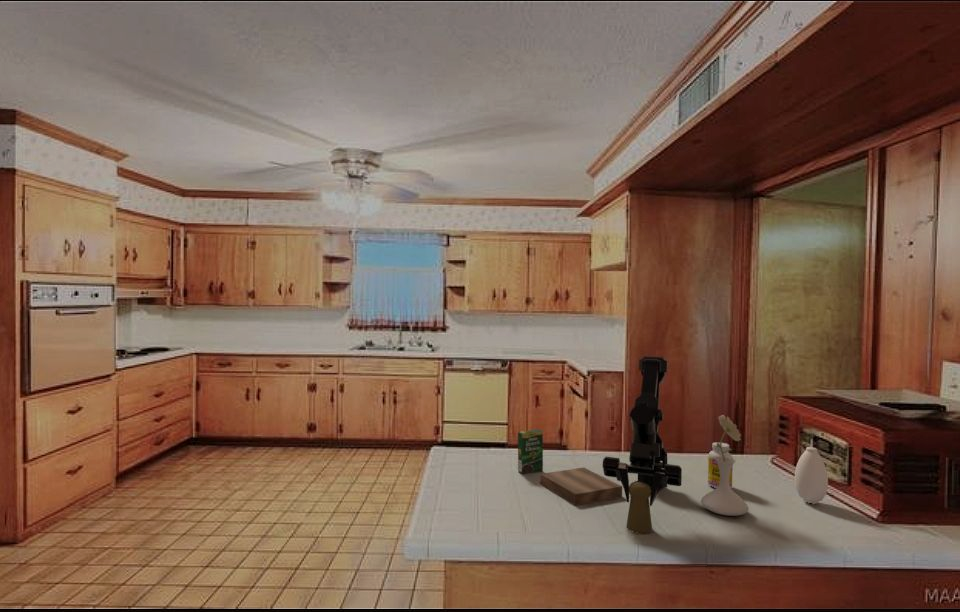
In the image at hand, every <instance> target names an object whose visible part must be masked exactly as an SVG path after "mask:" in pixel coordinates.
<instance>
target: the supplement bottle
mask: <svg viewBox="0 0 960 612" xmlns="http://www.w3.org/2000/svg"><path fill="white" fill-rule="evenodd" d="M717 442H718V441H716V442H712V450H710V452H709V453H708V462H707V463H708V464H707V485H708V486H709V485H710V486H712V487H714V488H713V489H715V488H717V487H718V486H719V484H720V470H719V466H718V463H717V461H716V460H715V457H723V456H722V452H721V449H720V448H719V447H717V446H716V445H717ZM718 443H719V444H720V442H718ZM721 445H722V451H723V452H725V451H728V450H730V449H731V448H730V445H729V443H726V442H725V443H724V442H722V444H721ZM723 454H724V457H728V458H732V459H734V458H733V455H732V454H731V453H730V451H728V452H726V453H723ZM733 465H734V464H733ZM733 465H732V467H731V470H730V477H729V484H730V487H731V489H732V488H733V471H734V470H733V467H734V466H733ZM710 486H709V487H710ZM712 487H711V488H712Z"/></svg>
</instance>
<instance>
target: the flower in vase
mask: <svg viewBox="0 0 960 612" xmlns="http://www.w3.org/2000/svg"><path fill="white" fill-rule="evenodd" d="M717 418H718V421H719V425H720V426H721V427H722V429H723V430H724V432H723V434H722V436H721V439H720V444H719V443H718V441H716V442H717V445H716V446H717V447H719V448H720V449H721V452H722V456H723V457H715V460H716V461H717V463H718V466H719V470H720V484H719V486H718V487H717V488H716V489H715V488H713V490H712V491H709V492H707V493H706V494H705V495H704V496H702V497H701V499H700V503H701V504H702V506H703V507H704V508H705V509H707V510H708V511H710V512H712V513H715V514H719V515H723V516H730V517H733V516H734V517H735V516H742V515H745V514H747V512H748V511H749V507H748V504H747V503H746V502H745V500H744V499H742V497H740V496H739V495H738V494H737V493H736V492H735V491H734V490H733V489H732V488H731V487H730V484H729V477H730V470H731V467H732V465H734V464H735V463H736V460H735V459H734V458H733V459H732V458H728V457H724V454H723V453H726V452H728V451H729V452H731V451H732V450H733V448H730V449H729V450H728V451H725V452H723V451H722V445H721V444H722V443H723V439H724V437H725V434H727V436H729V437H730V438H731V439H732V440H733V441H736V442H740V441H742V439H741V437H742V434H741V432H740V431H739V429H738V428H737V427H738V426H737V424H735V423H734V422H733V421H732V420H731V418H730V417H729V416H725V415H724V414H722V415H719V416H718V417H717Z"/></svg>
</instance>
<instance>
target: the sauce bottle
mask: <svg viewBox="0 0 960 612" xmlns="http://www.w3.org/2000/svg"><path fill="white" fill-rule="evenodd" d="M813 443H814V441H813V438H811V439H810V446H807V447H806V448H805V451H804V452H803V453H802V454H801V455H800V457H799V460H798V461H797V464H796V466H795V470H794V472H795V473H794V485H795V489H796V491H797V494H798V495H799V496H798V497H800V498H801V499H803V501H804V502H806V503H807V502H808V503H807V504H809V503H814V504H813V505H816V504H819V502H822V501H823V500H824V498H825V496H826V495H827V492H828V488H829V478H828V477H829V476H828V472H827V469H826V465H825V462H824V460H823V458H822V457H821V455H820V454H819V452H818V449H817V448H816V447H813V446H814V444H813Z"/></svg>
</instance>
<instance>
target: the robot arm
mask: <svg viewBox="0 0 960 612" xmlns="http://www.w3.org/2000/svg"><path fill="white" fill-rule="evenodd" d="M638 371H639V372H640V374H641V377H642V379H641V386H640V395H639V396H637V397H636V398H635V401H634V406H631V410H630V412H629V420H630V421H631V429H632V431H633V434H632V442H631V443H630V450H629V464H627V463H625V462H622V461H620V460H621V459H620V457H612V456H605V457H604V458H603V459H602V469H603V476H604V477H605V476H606V477H608V478H615V479H616V480H617V481H618V482H621V486H622V489H623V490H624V494H625V499H626V502H627V503H630V493H629V486H630V481H629V479H630V478H629V474H635V475H637V480H635V481H634V482H644V483H646V484H648V485H649V486H650V488H651V495H650V497H649V506H650V507H652V506H653V504H654V502H655V501H656V498H657V496H658V495H659V493H660V492H661V490H662V489H663V488H668V486H675V487H681V486H682V475H683V474H682V469H683V468H682V467H681V465H677V464H670V463H669V464H668V453H667V451H666V448H665V447H664V442H663V440H662V438H661V437H660V435H659V423H662V421H664V416H665V415H664V412H663V410H662V409H660V388H661V387H660V386H661V385H662V384H663V382H664V381H665V379H666V373H668V372H669V361H668V360H666V359H665V356H652V355H643V357H642V359H641V358H638Z"/></svg>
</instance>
